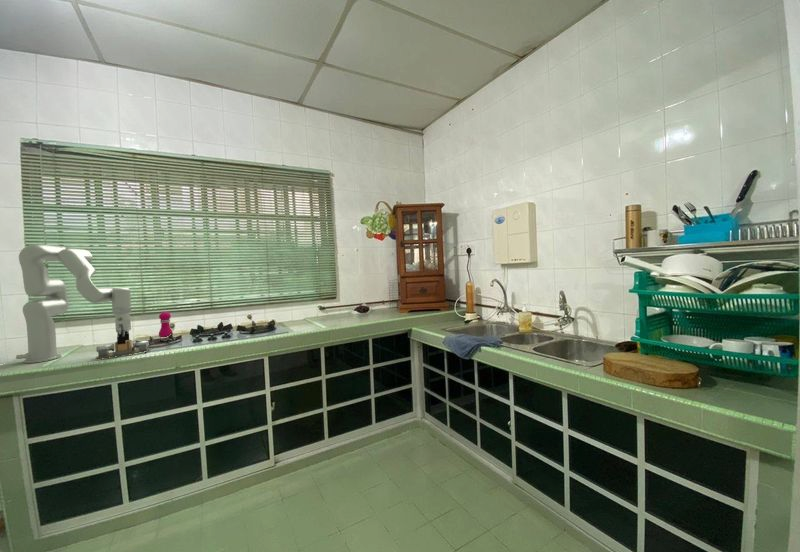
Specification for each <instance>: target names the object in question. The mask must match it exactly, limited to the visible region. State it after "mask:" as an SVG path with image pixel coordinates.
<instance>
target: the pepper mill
mask: <svg viewBox="0 0 800 552" xmlns="http://www.w3.org/2000/svg"><path fill="white" fill-rule="evenodd" d="M171 317H172V315H171V313H170V312H167V310H166V309H164V310H162V312H161V313H159V316H158V319H159V320H160V324H161V325H160V329H159V332H158V337H160V338H161V337H167V336H169V335H170V334H173V330H172V328H171V326H170V322H171ZM173 335H174V334H173Z"/></svg>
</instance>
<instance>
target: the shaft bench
mask: <svg viewBox="0 0 800 552" xmlns="http://www.w3.org/2000/svg"><path fill="white" fill-rule="evenodd" d="M148 346H150V342H149V340H142V341H135V340H134V341H132V350H124V351H117V352H115V343H112V344H109V345H101V346H96V348H95V350H96V353H97V354H98V355H97V356H96V357H95V360H96V359H101V360H103V359H102V358H108V359H110V358H109V357H115V356H122V355H129V354H134V353H139V352H144V351H147V350H148V349H149V350H150V347H148ZM115 358H116V357H115Z"/></svg>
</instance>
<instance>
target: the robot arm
mask: <svg viewBox="0 0 800 552" xmlns="http://www.w3.org/2000/svg"><path fill="white" fill-rule="evenodd" d="M93 257H94V256H93V255H92V253H91V252H90V251H88V250H86V249H83V248H75V247H68V246H65V245H64V246H62V245H54V244H53V245H52V244H43V243H42V244H41V243H37V244H30V245H27V246H25V247H23V248H22V249H21V251H19V254H18V261H19V265H20V268H21V271H22V272H21V273H22V279H23V288H24V292H25V294H26V295H28V296H29V297H33V298H34V297H45V298H38V299H32V300H30V301H27V302H26V303H25V304H24V305H23V306H22V313H23V316H24V319H25V323H26V333H27V334H26V337H27V348H28V349H27V351H28V352H27V353H24V354H16V357H15V359H16V360H21V359H22V360H23V359H24V360H23V363H25V364H34V363H36V364H37V363H42V362H43V363H44V362H49V361H54V360H57V359H59V358H61V357H62V354H60V353H58V352H57V351H58V350H57V336H56V334H57V333H56V332H57V330H56V324H55V322H54V319H53V318H52V317H54V316H59V315H63V314H65V313H67V311H68V309H69V300H68V297H69V296H68V290H67V286H66V284H65V282H64V281H63V280H62V279H60V278H56V277H49V271H48V268H47V266H46V265H45V264H44V263H43V262H45V261H46V262H61V263H62V265H64V267H65V268H66V269H67V270H68V272H70V273H71V275H73V277H74V278H75V285H76V286H75V287H76V290H77V292H78V293H79V294H80V295H81V296H82V297H83V298H84V299H85V301H88V302H90V303H91V304H99V303H102V304H103V303H109V302H111V309H112V310H111V311H112V314H111V315H114V317H115V319H114V322H115V323H114V324H115V332H116V333H117V335H116V342H117V344H118V345H119V344H125V343H126V340H130V333H129V332H130V331H131V329H132V324H131V313H132V301H131V300H132V297H131V289H130V288H129V287H116V288H115V287H99V288H98V287H97V286H96V285H95V284H94V282H92V280H91V277H92V276H94V275H95V274H96V268H94V266H93V265H91V263H92V262H93V259H94V258H93Z"/></svg>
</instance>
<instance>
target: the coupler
mask: <svg viewBox="0 0 800 552" xmlns="http://www.w3.org/2000/svg"><path fill="white" fill-rule="evenodd" d="M114 346H115V349H114V352H117V351H124V350H132V347H133V341H132V339H129V340H126V343H125V344H119V345H118V344H117V341H115V342H114Z"/></svg>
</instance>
